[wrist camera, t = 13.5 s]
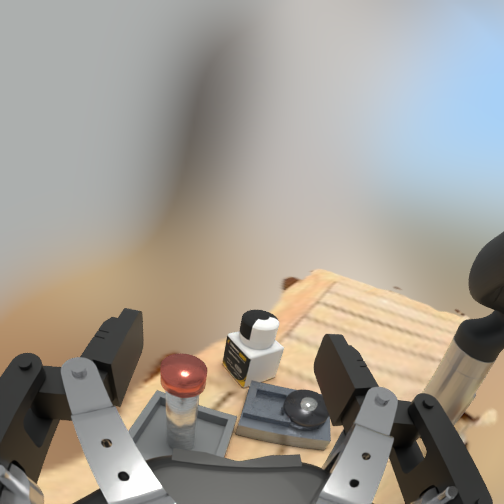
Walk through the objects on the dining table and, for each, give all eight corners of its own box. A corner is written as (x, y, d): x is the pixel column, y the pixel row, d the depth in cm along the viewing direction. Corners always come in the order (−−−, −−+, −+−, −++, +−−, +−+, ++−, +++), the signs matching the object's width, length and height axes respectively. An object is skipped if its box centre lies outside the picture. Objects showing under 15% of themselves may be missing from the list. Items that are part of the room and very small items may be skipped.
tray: (234, 426, 34) (237, 416, 33) (212, 492, 22) (214, 485, 21) (157, 400, 35) (157, 390, 34) (120, 456, 24) (117, 447, 23)
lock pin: (202, 435, 30) (213, 361, 26) (192, 459, 26) (198, 390, 22) (170, 424, 31) (171, 348, 27) (157, 447, 26) (152, 373, 23)
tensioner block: (323, 405, 40) (333, 385, 39) (324, 450, 31) (337, 431, 29) (248, 390, 42) (254, 369, 40) (235, 434, 32) (241, 414, 31)
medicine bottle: (221, 364, 47) (231, 308, 44) (253, 355, 51) (265, 302, 48) (242, 389, 42) (256, 331, 38) (275, 377, 46) (292, 323, 43)
